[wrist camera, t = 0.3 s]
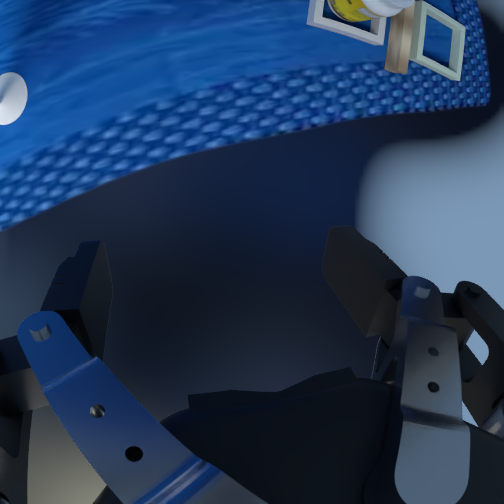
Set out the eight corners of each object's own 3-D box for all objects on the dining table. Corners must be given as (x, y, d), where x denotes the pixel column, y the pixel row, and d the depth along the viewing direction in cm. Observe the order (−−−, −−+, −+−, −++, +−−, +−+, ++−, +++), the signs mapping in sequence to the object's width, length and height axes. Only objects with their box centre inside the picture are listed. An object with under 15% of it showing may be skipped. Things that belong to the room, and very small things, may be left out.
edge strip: (394, -25, 28) (407, -28, 25) (403, -20, 28) (416, -23, 25) (384, 69, 35) (397, 70, 33) (393, 72, 36) (406, 73, 33)
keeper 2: (413, 1, 30) (422, 0, 28) (456, 27, 33) (465, 27, 31) (407, 58, 35) (416, 59, 33) (451, 79, 37) (459, 81, 36)
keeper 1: (315, -40, 26) (322, -44, 24) (381, -15, 28) (389, -17, 27) (306, 24, 30) (313, 22, 29) (374, 45, 33) (383, 44, 31)
